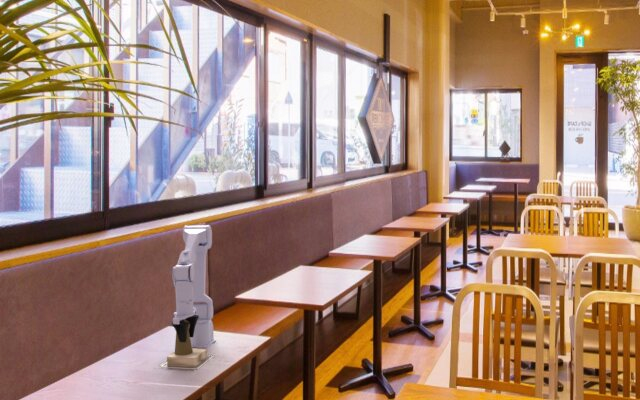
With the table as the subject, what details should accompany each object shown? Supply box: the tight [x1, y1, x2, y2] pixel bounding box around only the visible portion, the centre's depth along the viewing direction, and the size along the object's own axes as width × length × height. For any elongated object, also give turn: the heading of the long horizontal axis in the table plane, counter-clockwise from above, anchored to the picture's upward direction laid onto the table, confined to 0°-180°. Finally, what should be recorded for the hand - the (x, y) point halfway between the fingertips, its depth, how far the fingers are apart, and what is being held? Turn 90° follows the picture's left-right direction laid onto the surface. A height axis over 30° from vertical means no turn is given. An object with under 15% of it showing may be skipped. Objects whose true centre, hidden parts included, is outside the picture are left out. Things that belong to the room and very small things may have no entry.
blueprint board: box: [155, 354, 215, 372], centre depth 228 cm, size 16×15×1 cm
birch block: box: [166, 347, 208, 367], centre depth 227 cm, size 10×10×3 cm
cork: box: [174, 320, 193, 355], centre depth 227 cm, size 6×6×11 cm
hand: (186, 339), depth 227 cm, fingers closed on cork, 5 cm apart
